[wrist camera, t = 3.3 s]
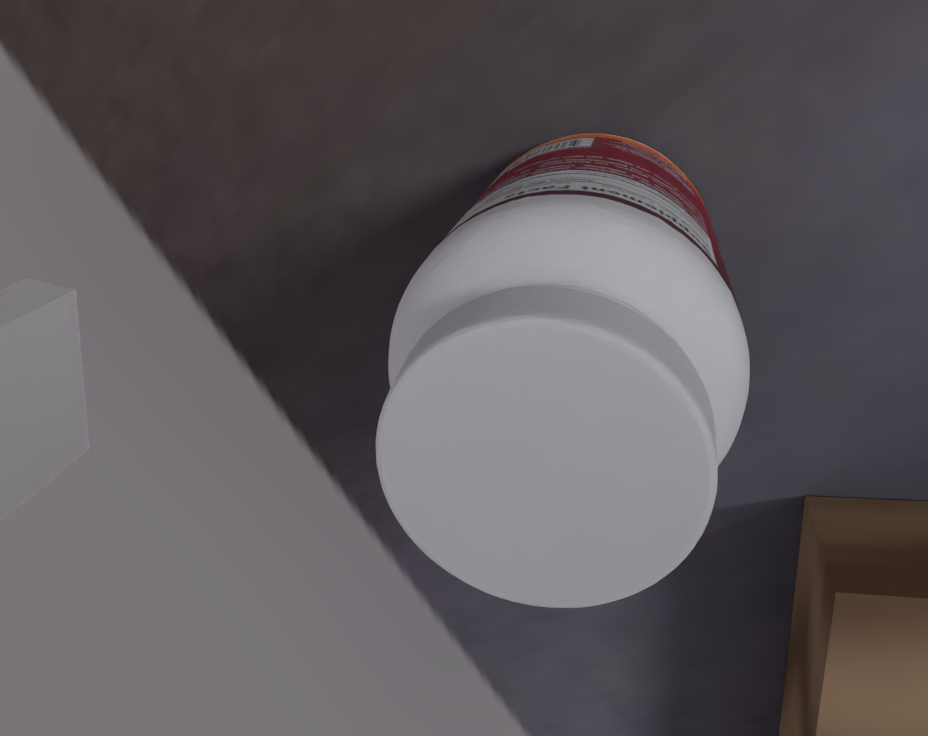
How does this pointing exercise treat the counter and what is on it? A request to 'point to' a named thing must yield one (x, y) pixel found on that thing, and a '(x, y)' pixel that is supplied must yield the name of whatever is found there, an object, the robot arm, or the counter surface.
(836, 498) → the tan flat block
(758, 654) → the counter surface
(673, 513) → the pill bottle
